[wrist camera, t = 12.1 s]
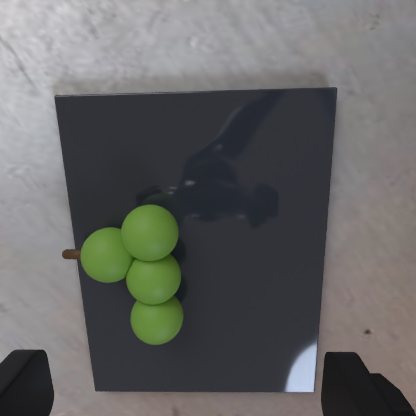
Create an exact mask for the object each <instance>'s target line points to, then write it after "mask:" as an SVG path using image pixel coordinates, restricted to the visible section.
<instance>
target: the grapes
mask: <svg viewBox="0 0 416 416" xmlns="http://www.w3.org/2000/svg"><path fill="white" fill-rule="evenodd" d="M178 235H179V230H178V225H177V222H176V220H175V218H174V216H173V215H172V214H171V213H170V212H169V211H168V210H166V209H165V208H163V207H160V206H157V205H143V206H140V207H138V208H136V209H134V210H133V211H131V212H130V213H129V214H128V215H127V217H126V218H125V220H124V222H123V224H122V228H121V229H119V228H114V227H108V228H103V229H100V230H97V231H95V232H94V233H92V234H91V235H90V236H89V237H88V238H87V239H86V241H85V242H84V244H83V246H82V249H67V250H64V251H63V253H62V256H63V258H65V259H81V263H82V266H83V268H84V270H85V272H86V273H87V274H88V275H89V276H90V277H91V278H93V279H95V280H97V281H100V282H105V283H111V282H116V281H119V280H121V279H123V278H125V277H126V283H127V287H128V289H129V291H130V293H131V295H132V296H133V297H134V298H135V299H137V301H136V303H135V304H134V306H133V308H132V312H131V326H132V329H133V331H134V333H135V335H136V336H137V337H138V338H139V339H140V340H142V341H143V342H145V343H147V344H151V345H160V344H164V343H166V342H168V341H170V340H171V339H173V338H174V337H175V336H176V335H177V333H178V332H179V330H180V328H181V326H182V323H183V309H182V306H181V303H180V301H179V300H178V299H177V297H176V296H175V295H174V294H175V293H176V291H177V290H178V288H179V285H180V282H181V270H180V267H179V264H178V262H177V261H176V259H175V258H174V257H173V256H172V255H171V254H169V253H170V252H171V251H172V250H173V249H174V247H175V245H176V243H177V240H178Z"/></svg>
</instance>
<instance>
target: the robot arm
mask: <svg viewBox="0 0 416 416" xmlns="http://www.w3.org/2000/svg"><path fill="white" fill-rule="evenodd" d="M53 401H54V390H53V384H52V379H51V374H50V368H49V363H48V358H47V354H46V352H45V351H44V350H14V351H13V352H11V353H10V354H9V355H8V356H7V357H6V358H5V359H4V360H3V361H2V362H1V364H0V416H49V414H50V412H51V409H52V406H53ZM321 404H322V411H323V416H416V415H415V412H414V410H413V408H412V407H411V405H410V404H409V402H408V401H407V400H406V398H405V397H404V395H403V394H402V393H401V391H400V390H399V389H398V388H397V387H395V386H394V385H393V384H392V383H391V382H390V381H388V380H387V379H386V378H385V377H384V376H382V375H381V374H380V373H369V371H368V369H367V368H366V366H365V365H364V363H363V361H362V360H361V358H360V357H359V355H358V354H357V353H355V352H327V353H326V354H325V358H324V369H323V380H322V391H321Z"/></svg>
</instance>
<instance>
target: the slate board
mask: <svg viewBox="0 0 416 416" xmlns="http://www.w3.org/2000/svg"><path fill="white" fill-rule="evenodd" d="M336 99H337V88H336V87H328V88H293V89H259V90H224V91H190V92H155V93H120V94H86V95H56V96H55V105H56V112H57V119H58V126H59V133H60V141H61V148H62V155H63V162H64V169H65V177H66V184H67V191H68V198H69V205H70V213H71V220H72V227H73V234H74V241H75V249H82V246H83V244H84V242H85V241H86V239H87V238H88V237H89V236H90V235H91V234H92V233H94V232H95V231H97V230H100V229H103V228H108V227H114V228H119V229H121V228H122V224H123V222H124V220H125V218H126V217H127V215H128V214H129V213H130V212H131V211H133V210H134V209H136V208H138V207H140V206H143V205H157V206H160V207H163V208H165V209H166V210H168V211H169V212H170V213H171V214H172V215H173V216H174V218H175V220H176V222H177V225H178V230H179V235H178V240H177V243H176V245H175V247H174V249H173V250H172V251H171V252H170V253H169V254H171V255H172V256H173V257H174V258H175V259H176V261H177V262H178V264H179V267H180V270H181V282H180V285H179V288H178V290H177V291H176V293H175V294H174V295H175V296H176V297H177V299H178V300H179V301H180V303H181V306H182V309H183V323H182V326H181V328H180V330H179V332H178V333H177V335H176V336H175V337H174V338H173V339H171V340H170V341H168V342H166V343H164V344H160V345H151V344H147V343H145V342H143V341H142V340H140V339H139V338H138V337H137V336H136V335H135V333H134V331H133V329H132V326H131V312H132V308H133V306H134V304H135V303H136V301H137V299H135V298H134V297H133V296H132V295H131V293H130V291H129V289H128V287H127V283H126V277H125V278H123V279H121V280H119V281H116V282H111V283H105V282H100V281H97V280H95V279H93V278H91V277H90V276H89V275H88V274H87V273H86V272H85V270H84V268H83V266H82V263H81V259H77V263H78V270H79V277H80V285H81V292H82V299H83V306H84V313H85V321H86V328H87V335H88V342H89V349H90V357H91V364H92V371H93V378H94V385H95V391H121V392H314V387H315V374H316V361H317V348H318V335H319V322H320V309H321V296H322V282H323V269H324V256H325V243H326V230H327V217H328V204H329V191H330V177H331V164H332V151H333V138H334V125H335V112H336Z"/></svg>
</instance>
